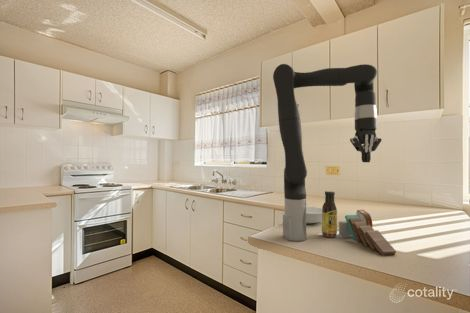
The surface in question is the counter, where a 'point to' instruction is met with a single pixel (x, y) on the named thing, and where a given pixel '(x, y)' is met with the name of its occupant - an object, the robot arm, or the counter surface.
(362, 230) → the domino
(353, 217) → the domino
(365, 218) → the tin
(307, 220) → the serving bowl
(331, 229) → the sauce bottle
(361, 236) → the domino
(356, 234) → the domino
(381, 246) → the domino
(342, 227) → the block
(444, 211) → the counter surface
